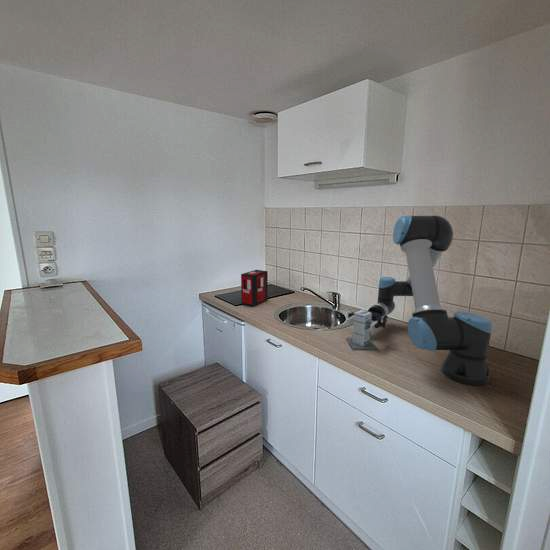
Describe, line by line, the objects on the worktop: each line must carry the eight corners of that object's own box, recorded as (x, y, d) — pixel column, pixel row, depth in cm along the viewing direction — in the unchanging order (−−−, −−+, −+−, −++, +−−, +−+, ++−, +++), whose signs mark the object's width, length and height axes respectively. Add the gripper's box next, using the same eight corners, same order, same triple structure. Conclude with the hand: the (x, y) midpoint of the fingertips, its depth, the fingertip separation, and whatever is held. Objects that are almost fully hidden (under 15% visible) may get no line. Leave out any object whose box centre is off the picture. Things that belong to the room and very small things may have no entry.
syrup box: (363, 346, 135) (365, 315, 132) (351, 342, 139) (353, 312, 136) (370, 342, 138) (372, 312, 135) (359, 338, 143) (361, 309, 140)
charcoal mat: (377, 349, 134) (377, 348, 133) (352, 350, 133) (352, 348, 133) (369, 339, 144) (369, 337, 144) (346, 339, 144) (346, 337, 144)
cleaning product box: (256, 298, 208) (256, 269, 204) (267, 300, 204) (267, 271, 200) (241, 304, 195) (241, 274, 190) (253, 307, 190) (252, 275, 186)
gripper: (400, 325, 144) (384, 340, 127) (355, 314, 158) (334, 327, 141) (402, 309, 142) (385, 323, 126) (356, 300, 156) (335, 311, 140)
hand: (358, 325), depth 133 cm, fingers open, 10 cm apart
